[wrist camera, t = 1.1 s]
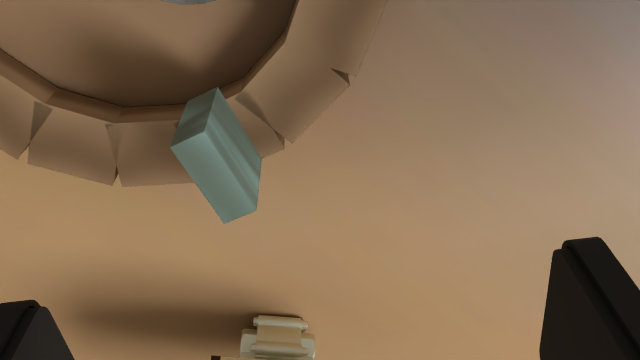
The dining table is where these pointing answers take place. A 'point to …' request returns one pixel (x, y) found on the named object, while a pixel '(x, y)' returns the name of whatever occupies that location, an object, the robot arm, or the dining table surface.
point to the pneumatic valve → (275, 340)
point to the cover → (188, 1)
